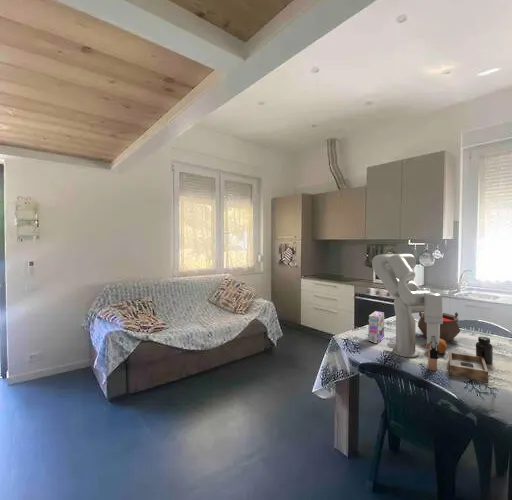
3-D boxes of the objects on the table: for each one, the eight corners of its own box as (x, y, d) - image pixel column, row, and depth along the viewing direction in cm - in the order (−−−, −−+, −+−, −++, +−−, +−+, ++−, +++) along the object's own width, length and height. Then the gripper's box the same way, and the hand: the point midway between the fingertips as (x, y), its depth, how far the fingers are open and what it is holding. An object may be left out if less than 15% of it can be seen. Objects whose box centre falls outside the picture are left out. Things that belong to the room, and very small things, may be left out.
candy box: (378, 344, 179) (378, 316, 178) (368, 342, 182) (368, 315, 181) (384, 337, 190) (384, 311, 189) (374, 336, 193) (374, 310, 192)
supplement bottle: (485, 358, 156) (485, 335, 155) (496, 364, 149) (496, 340, 148) (472, 358, 156) (472, 336, 155) (482, 364, 149) (483, 340, 148)
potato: (452, 354, 162) (452, 340, 162) (435, 357, 159) (435, 343, 159) (437, 348, 171) (437, 335, 171) (421, 350, 168) (421, 337, 167)
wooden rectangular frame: (450, 374, 139) (450, 365, 139) (449, 360, 154) (449, 351, 154) (488, 381, 132) (488, 371, 131) (483, 366, 147) (483, 357, 147)
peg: (428, 369, 144) (428, 347, 144) (428, 366, 148) (428, 344, 147) (436, 371, 143) (437, 348, 142) (436, 368, 146) (437, 345, 145)
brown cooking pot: (448, 332, 198) (448, 307, 197) (470, 345, 174) (470, 317, 174) (410, 331, 201) (410, 307, 200) (426, 344, 177) (426, 317, 176)
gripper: (425, 314, 153) (425, 348, 153) (423, 322, 138) (424, 360, 138) (442, 316, 149) (443, 351, 149) (442, 324, 134) (443, 362, 134)
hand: (434, 355), depth 144 cm, fingers open, 9 cm apart
